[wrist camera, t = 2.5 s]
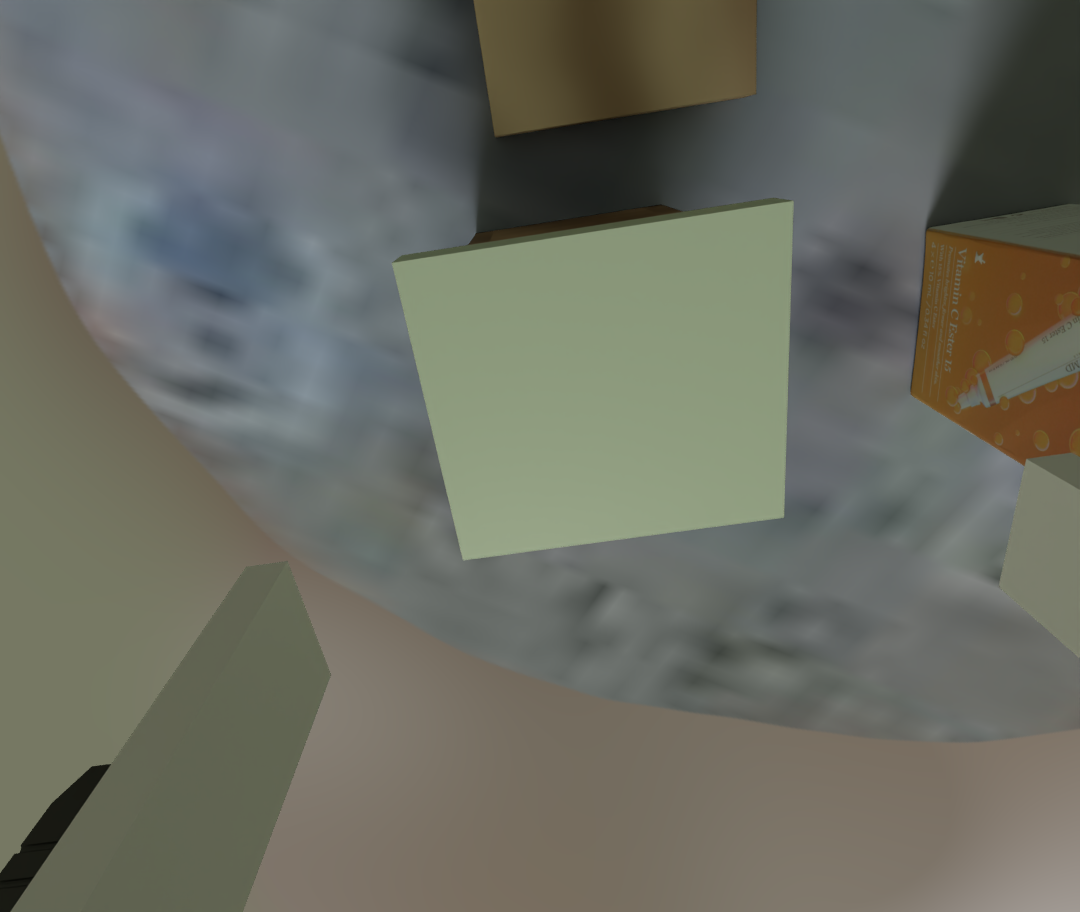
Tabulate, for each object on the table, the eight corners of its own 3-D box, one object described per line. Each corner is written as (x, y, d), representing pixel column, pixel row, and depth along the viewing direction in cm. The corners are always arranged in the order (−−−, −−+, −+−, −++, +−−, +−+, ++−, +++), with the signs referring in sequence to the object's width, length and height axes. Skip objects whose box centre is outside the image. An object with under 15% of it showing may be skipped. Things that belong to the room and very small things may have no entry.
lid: (756, 195, 19) (793, 200, 17) (754, 476, 24) (783, 517, 21) (410, 249, 20) (392, 263, 17) (470, 515, 24) (462, 560, 21)
